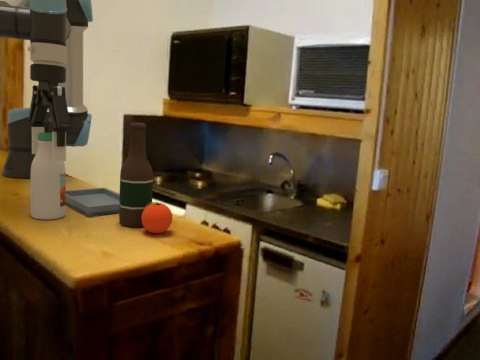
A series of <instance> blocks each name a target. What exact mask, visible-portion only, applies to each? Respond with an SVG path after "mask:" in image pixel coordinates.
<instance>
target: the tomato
mask: <svg viewBox="0 0 480 360" xmlns="http://www.w3.org/2000/svg"><path fill="white" fill-rule="evenodd" d="M151 203H152V204H150V203H148V204H150V205H148V204H146V206H147V205H148V206H147V207H146V206H145V209H144V210H143V212H142V217H141V219H142V224H143V226H144V227H143V228H144V229H145V230H146V231H148V233H152V234H163V233H164V232H165V231H168V229H169V228H170V227H171V225H172V224H173V213H172V210H171V209H170V207H168V206H167V205H166V204H164V203H162V202H158V201H152V202H151Z"/></svg>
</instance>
